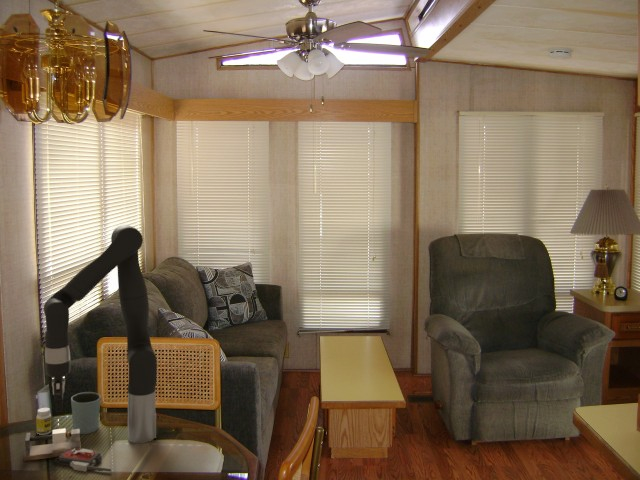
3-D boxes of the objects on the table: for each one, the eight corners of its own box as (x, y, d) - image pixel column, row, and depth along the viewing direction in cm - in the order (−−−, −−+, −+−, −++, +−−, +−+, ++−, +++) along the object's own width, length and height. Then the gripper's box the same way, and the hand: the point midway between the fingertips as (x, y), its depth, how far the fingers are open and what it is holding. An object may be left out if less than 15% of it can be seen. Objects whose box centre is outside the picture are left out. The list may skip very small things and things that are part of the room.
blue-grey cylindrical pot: (80, 421, 231) (80, 390, 230) (106, 424, 230) (106, 393, 228) (65, 433, 221) (65, 401, 220) (92, 436, 220) (92, 403, 218)
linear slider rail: (80, 444, 213) (80, 426, 213) (80, 453, 207) (80, 434, 206) (25, 451, 207) (25, 432, 206) (24, 460, 201) (23, 441, 200)
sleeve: (65, 438, 210) (65, 428, 209) (65, 442, 206) (65, 432, 206) (52, 439, 208) (52, 429, 208) (52, 443, 205) (52, 434, 204)
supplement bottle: (45, 436, 219) (45, 413, 218) (33, 434, 220) (33, 411, 218) (54, 430, 223) (53, 407, 222) (42, 428, 224) (41, 406, 223)
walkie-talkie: (50, 468, 198) (109, 476, 194) (50, 454, 197) (109, 462, 194) (66, 455, 206) (122, 463, 203) (66, 442, 206) (123, 450, 202)
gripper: (70, 365, 198) (71, 413, 201) (70, 351, 211) (71, 397, 214) (44, 367, 196) (46, 416, 198) (46, 353, 209) (47, 400, 211)
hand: (59, 406), depth 206 cm, fingers open, 8 cm apart
